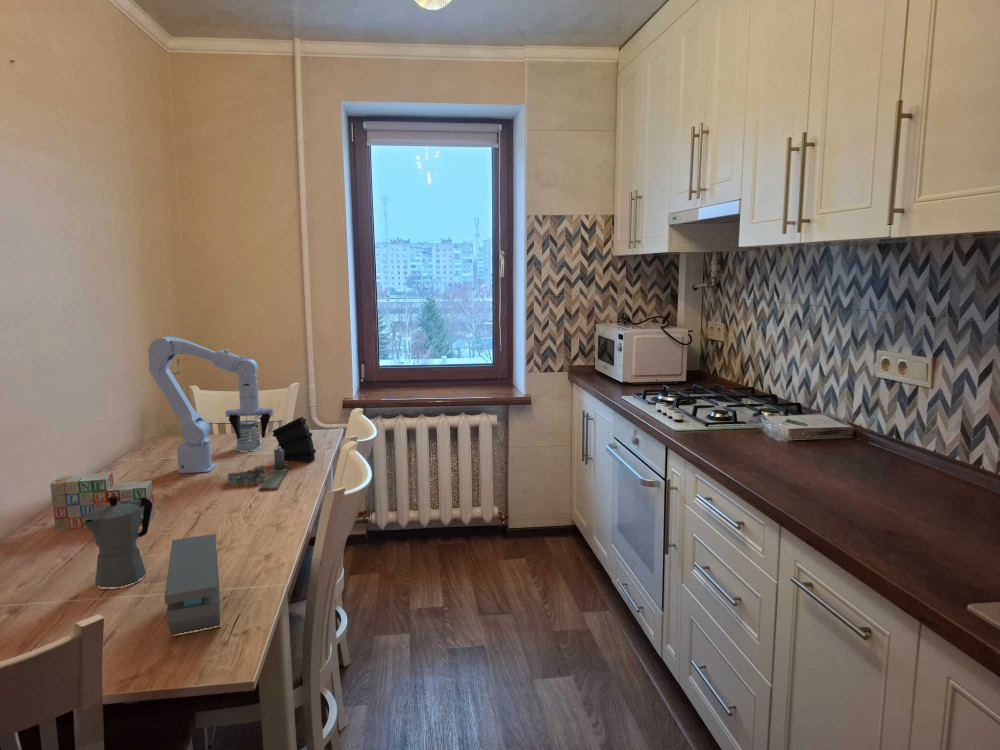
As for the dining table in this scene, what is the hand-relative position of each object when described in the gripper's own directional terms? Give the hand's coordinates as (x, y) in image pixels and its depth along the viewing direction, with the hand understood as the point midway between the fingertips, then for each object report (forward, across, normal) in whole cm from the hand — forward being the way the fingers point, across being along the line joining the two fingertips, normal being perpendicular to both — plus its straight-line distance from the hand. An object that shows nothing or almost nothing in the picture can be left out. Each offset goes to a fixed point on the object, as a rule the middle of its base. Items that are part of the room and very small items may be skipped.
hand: (251, 437), depth 218 cm
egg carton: (+10, +2, -17) cm, 20 cm away
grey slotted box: (+10, +11, -100) cm, 101 cm away
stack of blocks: (+10, -26, -45) cm, 53 cm away
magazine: (+10, +13, +5) cm, 17 cm away
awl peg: (+9, +10, -6) cm, 15 cm away
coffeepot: (+10, -8, -80) cm, 81 cm away
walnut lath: (+10, +10, -14) cm, 20 cm away
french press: (+10, -6, +24) cm, 26 cm away
